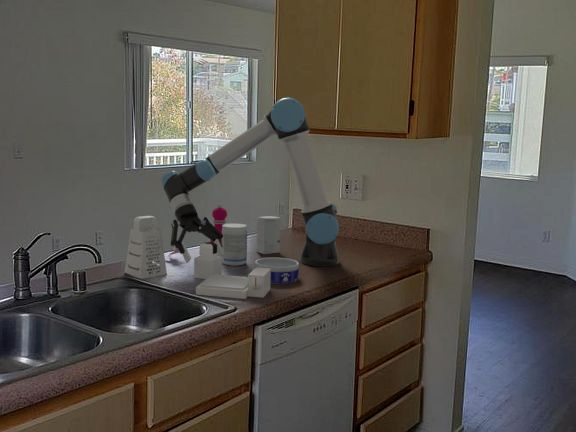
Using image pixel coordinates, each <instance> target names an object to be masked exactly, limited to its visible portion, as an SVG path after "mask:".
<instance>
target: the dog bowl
mask: <svg viewBox="0 0 576 432" xmlns="http://www.w3.org/2000/svg"><path fill="white" fill-rule="evenodd" d="M256 267H257V268H270V269H271V281H270V285H271V284H273V285H275V284H276V285H284V284H285V285H286V284H287V285H288V284H291V283H295V282H297V281H298V280H299V270H300V269H299V268H300V264H299V262H298V261H297V260H295V259H291V258H288V257H287V258H286V257H262V258H258V259H256V260H255V261H254V269H255V268H256Z"/></svg>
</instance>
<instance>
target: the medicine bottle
mask: <svg viewBox="0 0 576 432" xmlns="http://www.w3.org/2000/svg"><path fill="white" fill-rule="evenodd" d="M193 264H194V266H193V267H194V268H193V269H194V270H193V271H194V273H193V274H194V276H193V278H194V279H199V280H206V279H207V278H208V277H209V276H211V275H213V274H216V275H223V273H222V272H223V271H222V270H223V269H222V267H223V263H222V257H221V256H218V254H217V244H215V243H212V242H210V241H209V242H208V241H207V242H201V243H200V244H199V256H196V257H194V261H193Z"/></svg>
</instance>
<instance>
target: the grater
mask: <svg viewBox="0 0 576 432" xmlns="http://www.w3.org/2000/svg"><path fill="white" fill-rule="evenodd" d="M150 218H151V226H142V227H140V225H141V223H140V222H141V220H143V219H150ZM127 246H128V247H127V253H126V254H127V255H126V259H125V268H124V274H126V273H127V275H129V274H130V276H132V277H134V278H138V279H140V280H141V279H142V280H143V279H147V278H153V277H159V276H165V274H166V275H168V270H167V265H166V261H165V260H166V256H165V251H164V244H163V236H162V230H161V229H159V219H158V218H157V217H156V216H153V215H144V216H141V215H140V216H136V217H135V218H134V219H133V228H130V231H129V239H128V245H127Z"/></svg>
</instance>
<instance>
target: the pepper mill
mask: <svg viewBox="0 0 576 432" xmlns="http://www.w3.org/2000/svg"><path fill="white" fill-rule="evenodd" d="M211 213H212V214H211V216H212V218H213V223H212V224H214V225H213V226H214V227H215V228H216V229H217V230H218V231H219V232H220V233H221V234H222V225H224V224H227V222H226V221H227V220H226V218H227V217H228V211H227V210H226V208H224V207H223V205H222V204H221V203H218V204H217V207H215V208H214V209H213V210H212V212H211ZM215 239H216V238H215ZM220 241H221V244H222V239H221V240H220ZM209 242H212V243H214V241H212V240H211V239H210V241H209ZM217 255H218V253H217Z"/></svg>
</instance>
